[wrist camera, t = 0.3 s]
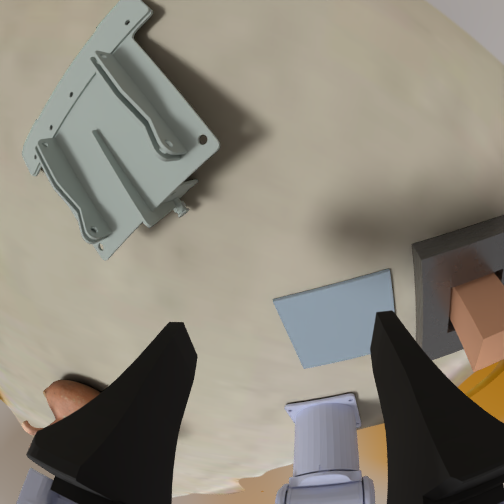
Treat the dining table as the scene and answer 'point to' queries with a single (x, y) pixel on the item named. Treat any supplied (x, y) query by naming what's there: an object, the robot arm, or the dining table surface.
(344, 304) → the rubber mat
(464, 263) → the socket plate
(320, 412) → the robot arm
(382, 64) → the dining table surface
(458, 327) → the square peg
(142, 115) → the metal bracket
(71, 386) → the ceramic jug
